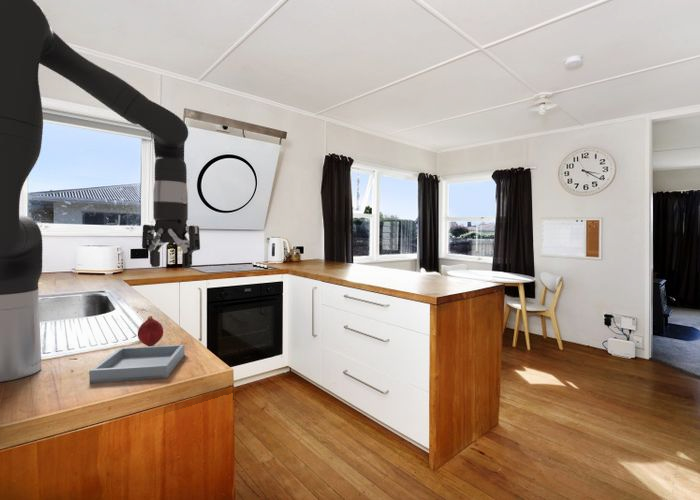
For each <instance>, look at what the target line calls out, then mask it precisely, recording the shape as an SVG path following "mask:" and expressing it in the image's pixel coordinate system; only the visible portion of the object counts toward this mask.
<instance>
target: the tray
mask: <svg viewBox="0 0 700 500" xmlns="http://www.w3.org/2000/svg"><path fill="white" fill-rule="evenodd" d="M184 357H185V344H171V345H170V344H168V345H167V344H166V345H154V346H147V345H146V346H132V347H130V346H129V347H119V348H118V349H117V350H115V351H114V352H113V353H111V354H110V355H109V356H107V357H106V358H105V359H103V360H102V361H100V362H99V363H98V364H96V365H95V366H94V367H92V368H91V369H90V370H89V372H88V374H89V376H88V379H89V380H88V381H89V384H98V383H114V382H128V381H141V380H143V381H144V380H157V379H159V380H160V379H168V377H169V376H170V375H171V373H172V372H173V370H174V369H175V368H176V367H177V365H178V364H179V363H180V362H181V360H182V359H183V358H184Z"/></svg>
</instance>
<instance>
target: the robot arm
mask: <svg viewBox="0 0 700 500" xmlns="http://www.w3.org/2000/svg"><path fill="white" fill-rule="evenodd" d="M40 65H42V66H44V67H45V68H48V69H49V70H51V71H53V72H54V73H56V74H58V75H59V76H62V77H63V78H65V79H66V80H68V81H69V82H71V83H73V84H74V85H75V86H78V87H79V88H81V89H82V90H83V91H84V92H86V93H87V94H88V95H90V96H91V97H93V98H94V99H96V100H98V101H99V102H100V103H101V104H103V105H104V106H105V107H107V108H109V109H110V110H111V111H113V112H114V113H115V114H117V115H118V116H120V117H121V118H123V119H124V120H126V121H127V122H129V123H131V124H133V125H138V126H140V127H141V128H144V129H145V130H147V131H148V132H150V133H151V134H153V149H154V157H155V161H154V183H153V184H154V185H153V190H152V191H153V192H152V193H153V197H152V198H153V202H152V204H153V207H152V208H153V213H152V214H153V220H154V222H155V223H154V225H153V224H143V226H142V237H141V238H142V239H141V242H142V243H141V249H143V250H147V251H149V264H150V266H151V268H159V267H160V265H161V251H160V250H161V249H162V247H163V246H164V245H166V244H168V243H169V244H176V245H177V246H178V247H179V248H180V249H181V250H182V252H183V253H181V255H182V256H181V257H182V259H181V260H182V261H181V263H182V266H181V267H182V269H190V268H191V266H192V265H193V253H194V252H196V251H200V249H201V239H200V226H198V225H189V226H188V223H187V221H188V220H189V218H188V217H189V214H188V213H189V212H188V211H189V209H188V208H189V206H188V204H189V202H188V201H189V199H188V198H189V196H188V195H189V193H188V185H187V182H188V181H187V177H188V173H187V164H186V162H185V143H186V141H187V140H188V137H189V129H188V126H187V124H186V123H185V122H184V121H183V120H182V118H180V116H178V115H177V114H175V112H172V111H171V110H169V109H167V108H166V107H164V106H162V105H160V104H159V103H157V102H155V101H152V100H151V99H149V98H148V97H146V96H145V95H144V94H143V93H142V92H140V91H139V90H137V89H136V88H135V87H134V86H132V85H131V84H129V83H128V82H127V81H125V80H124V79H122V78H121V77H119V76H118V75H116V74H115V73H113V72H111V71H110V70H107V69H106V68H104V67H102V66H100V65H98V64H95V63H94V62H93V61H91V60H90V59H88V58H86V57H84V56H83V55H82V54H80V53H79V52H77V51H76V50H75V49H74V48H72V47H71V46H70V45H69V44H68V43H67V42H65V41H64V40H63V39H62V38H61V37H60V36H59V35H58V34H57V33H56V32H55V31H54V30H53V28H52V26H51V23H50V21H49V19H48V17H47V15H46V13H45V12H44V10H43V9H42V7H40V5H39V4H37V2H36V1H34V0H0V383H1V382H7V381H13V380H18V379H21V378H25V377H29V376H31V375H34V374H35V373H38V372H39V371H41V370H42V361H43V360H42V347H41V346H42V342H41V320H40V297H39V296H40V295H39V293H40V292H39V281H40V278H41V277H42V273H43V234H42V231H41V229H40V227H39V225H38V223H37V222H36V221H34V220H33V218H31V217H28V216H26V215H23V214H20V202H21V195H22V189H23V186H24V184H25V182H26V180H27V179H28V176H29V175H30V173H31V172H32V170H33V169H34V167H35V166H36V163H37V161H38V159H39V157H40V154H41V151H42V144H43V131H44V130H43V129H44V114H43V112H44V111H43V104H42V103H43V102H42V96H41V90H40V84H39V82H40V81H39V70H40V69H39V68H40V67H39V66H40ZM187 234H188V236H187Z"/></svg>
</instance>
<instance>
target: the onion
mask: <svg viewBox="0 0 700 500" xmlns="http://www.w3.org/2000/svg"><path fill="white" fill-rule="evenodd" d="M163 336H164V328H163V325H162V323H161V322H160V321H158V320H156V319H154V318H153V316H152V315H149V316H148V317H147V319H146V320H145V321H144V322H142V323H141V325H139V327H138V330H137V338H138V340H139V341H140V342H141V343H142V344H143V345H145V346H146V347H147V346H156V344H157V343H158V342H160V340H161V339H162V337H163Z"/></svg>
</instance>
